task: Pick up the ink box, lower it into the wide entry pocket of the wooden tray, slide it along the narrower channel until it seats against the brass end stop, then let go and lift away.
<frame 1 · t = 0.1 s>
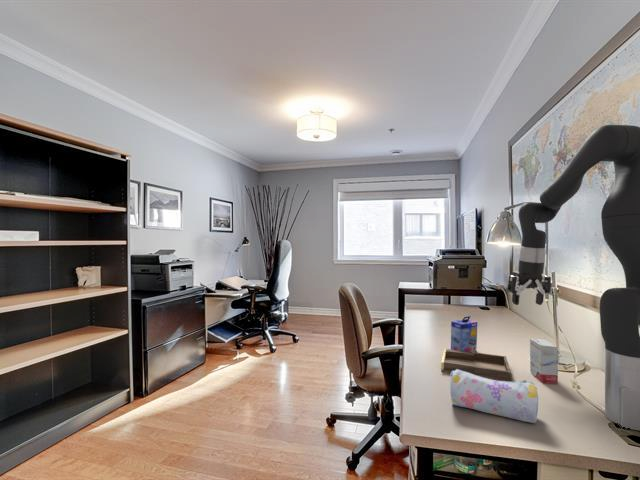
hand: (527, 304, 117), 22 cm above the table, tool pointing down, fingers open, 8 cm apart
ink box: (543, 378, 107), on the table
ink cartridge box: (463, 351, 134), on the table
pencil case: (491, 413, 86), on the table
wooden tray: (474, 367, 116), on the table
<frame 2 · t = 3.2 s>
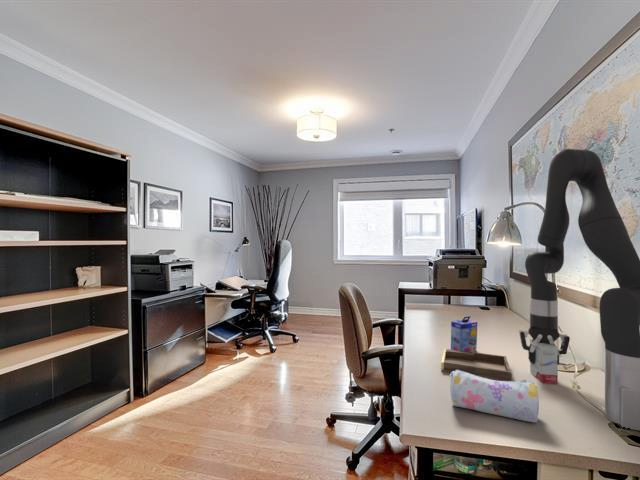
hand: (543, 364, 107), 5 cm above the table, tool pointing down, fingers closed on ink box, 5 cm apart
ink box: (543, 378, 107), on the table, touching gripper
everything else where it was.
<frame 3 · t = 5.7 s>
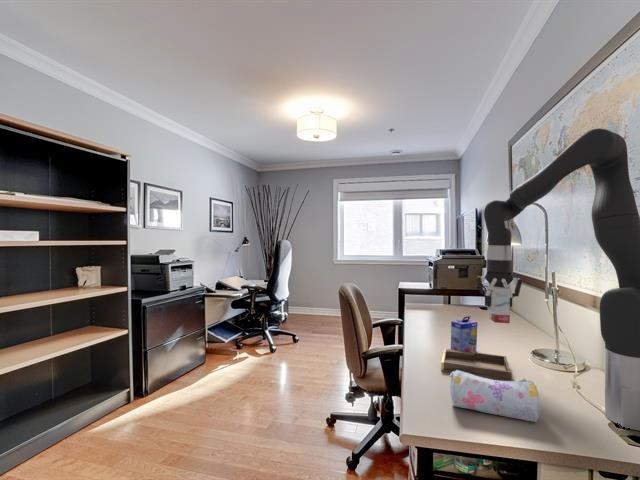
hand: (498, 307, 113), 22 cm above the table, tool pointing down, fingers closed on ink box, 5 cm apart
ink box: (498, 320, 113), point 17 cm above the table, touching gripper
everything else where it was.
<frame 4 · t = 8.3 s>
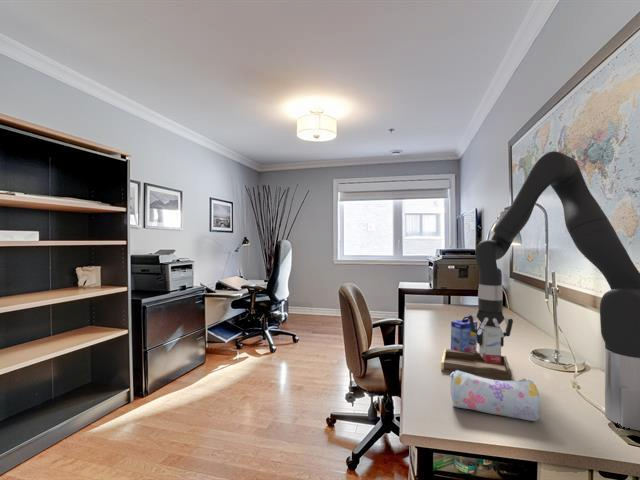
hand: (490, 345, 114), 8 cm above the table, tool pointing down, fingers closed on ink box, 5 cm apart
ink box: (489, 359, 114), point 4 cm above the table, touching gripper
everything else where it was.
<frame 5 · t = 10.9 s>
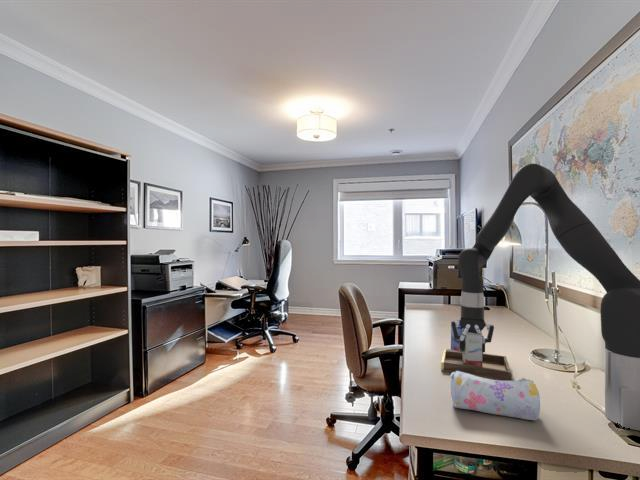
hand: (472, 351, 116), 6 cm above the table, tool pointing down, fingers closed on ink box, 5 cm apart
ink box: (472, 365, 116), point 1 cm above the table, touching gripper
everything else where it was.
when the fingers open (5 cm above the table, at t = 13.6 s): ink box stays where it is, resting on wooden tray.
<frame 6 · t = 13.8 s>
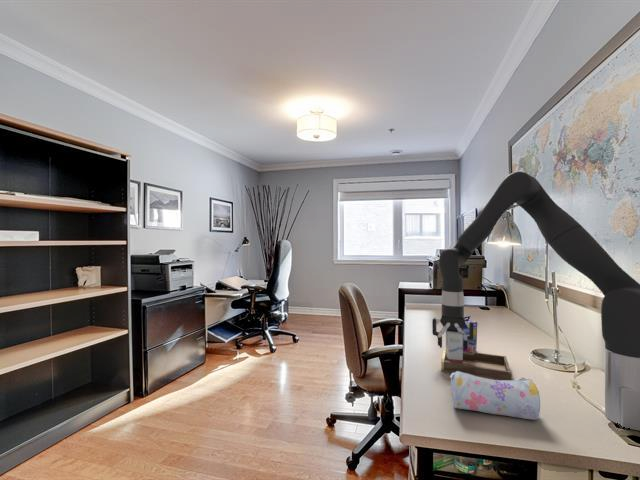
hand: (452, 348, 119), 6 cm above the table, tool pointing down, fingers open, 7 cm apart
ink box: (453, 363, 118), resting on wooden tray
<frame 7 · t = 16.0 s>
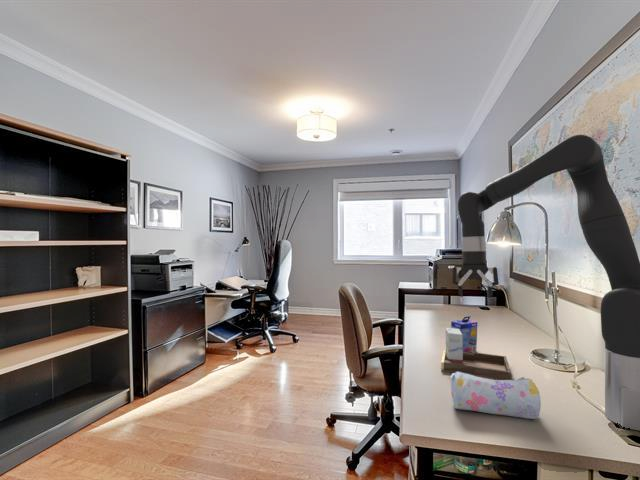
hand: (475, 297, 113), 26 cm above the table, tool pointing down, fingers open, 8 cm apart
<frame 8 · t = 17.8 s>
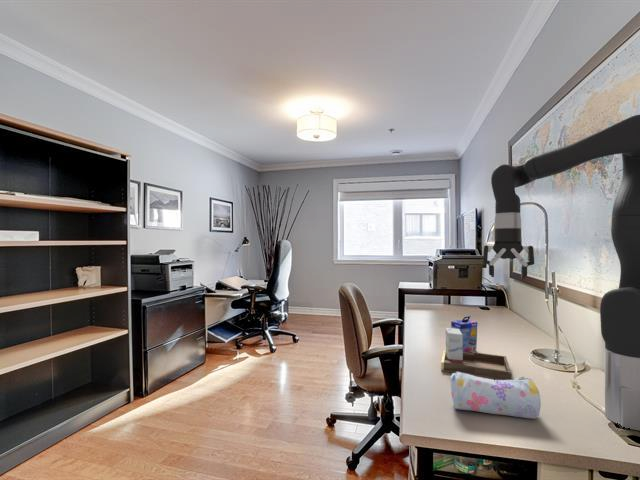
hand: (507, 277, 106), 33 cm above the table, tool pointing down, fingers open, 8 cm apart
nothing on the table moved.
at the end: ink box 0.1 cm from the target spot on the wooden tray, point 0.4 cm above the wooden tray's base; ink box tilted 0°; the gripper is holding nothing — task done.
